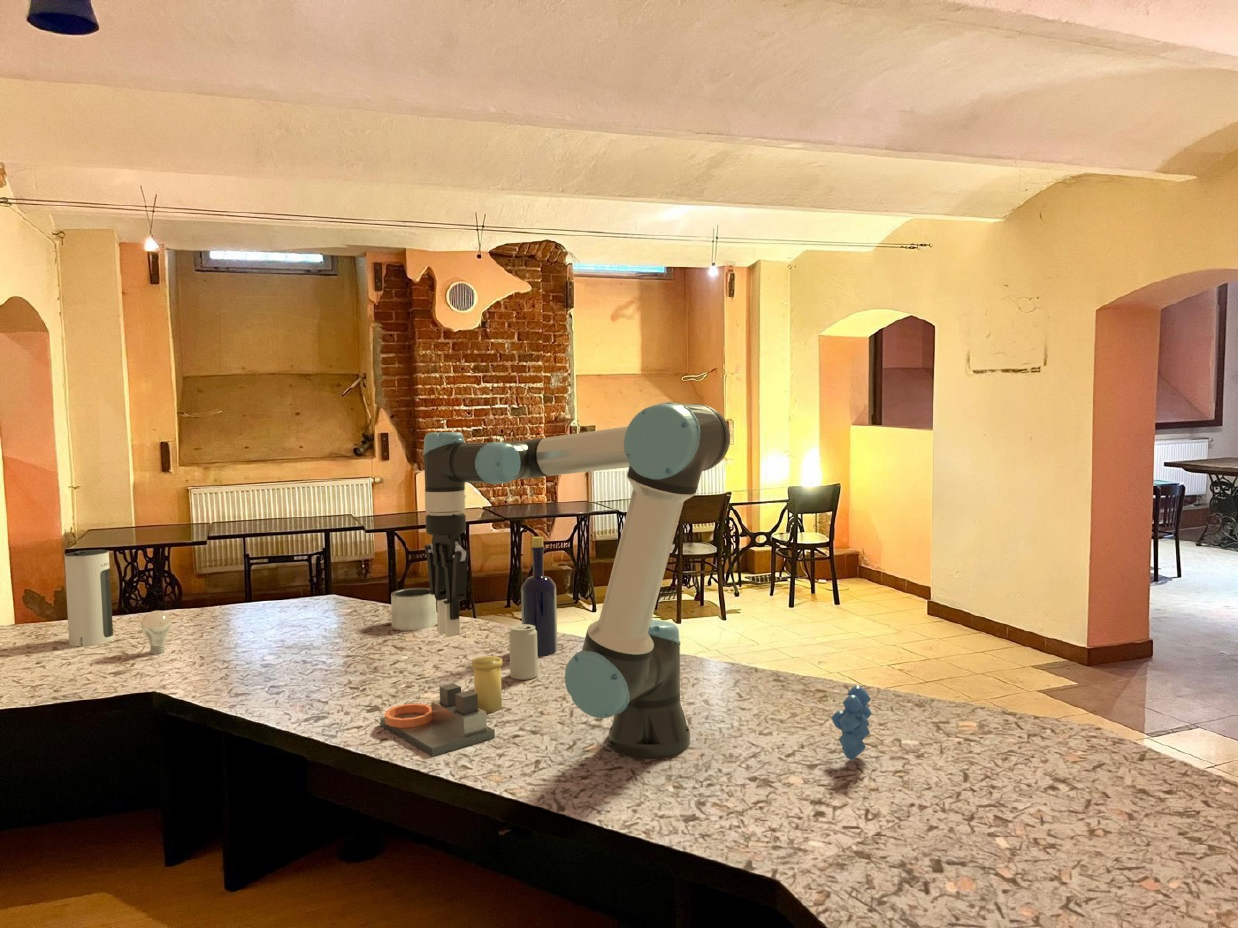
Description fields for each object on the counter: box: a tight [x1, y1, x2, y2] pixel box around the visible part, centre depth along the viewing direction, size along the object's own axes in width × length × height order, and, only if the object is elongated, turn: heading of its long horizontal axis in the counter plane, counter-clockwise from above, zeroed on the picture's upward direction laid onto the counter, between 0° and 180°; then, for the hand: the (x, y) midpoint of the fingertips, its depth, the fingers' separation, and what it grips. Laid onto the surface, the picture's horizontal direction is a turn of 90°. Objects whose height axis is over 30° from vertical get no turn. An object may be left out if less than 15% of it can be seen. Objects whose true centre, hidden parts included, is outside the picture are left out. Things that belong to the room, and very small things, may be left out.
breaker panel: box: [379, 699, 496, 757], centre depth 164 cm, size 21×13×5 cm, turn 41°
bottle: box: [520, 536, 558, 657], centre depth 215 cm, size 9×9×30 cm
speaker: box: [63, 549, 114, 647], centre depth 231 cm, size 11×10×26 cm
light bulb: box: [140, 610, 173, 655], centre depth 220 cm, size 7×7×12 cm
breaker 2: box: [455, 690, 478, 715], centre depth 160 cm, size 3×3×4 cm
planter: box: [390, 587, 438, 631], centre depth 243 cm, size 13×13×11 cm
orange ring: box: [384, 703, 432, 728], centre depth 166 cm, size 9×9×2 cm
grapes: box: [831, 684, 872, 761], centre depth 149 cm, size 12×7×12 cm, turn 149°
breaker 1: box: [439, 683, 462, 707], centre depth 165 cm, size 3×3×4 cm
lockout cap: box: [471, 655, 503, 714], centre depth 176 cm, size 6×6×10 cm
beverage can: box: [508, 623, 539, 681], centre depth 197 cm, size 6×6×12 cm
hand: (448, 634), depth 164 cm, fingers open, 2 cm apart
